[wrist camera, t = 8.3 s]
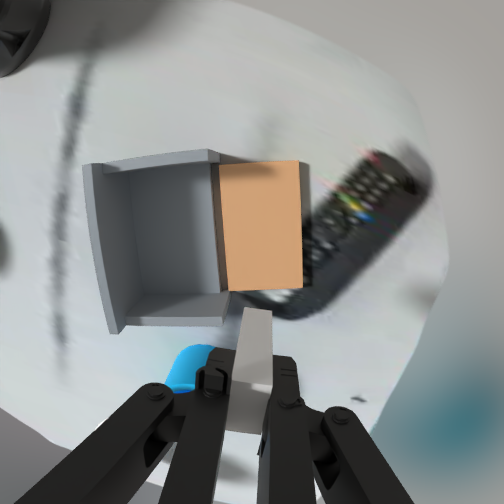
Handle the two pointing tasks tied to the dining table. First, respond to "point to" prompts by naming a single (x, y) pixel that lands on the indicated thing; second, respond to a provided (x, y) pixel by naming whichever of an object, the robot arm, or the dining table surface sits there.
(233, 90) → the dining table surface
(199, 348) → the mug
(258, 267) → the panel
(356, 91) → the dining table surface
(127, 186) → the box
